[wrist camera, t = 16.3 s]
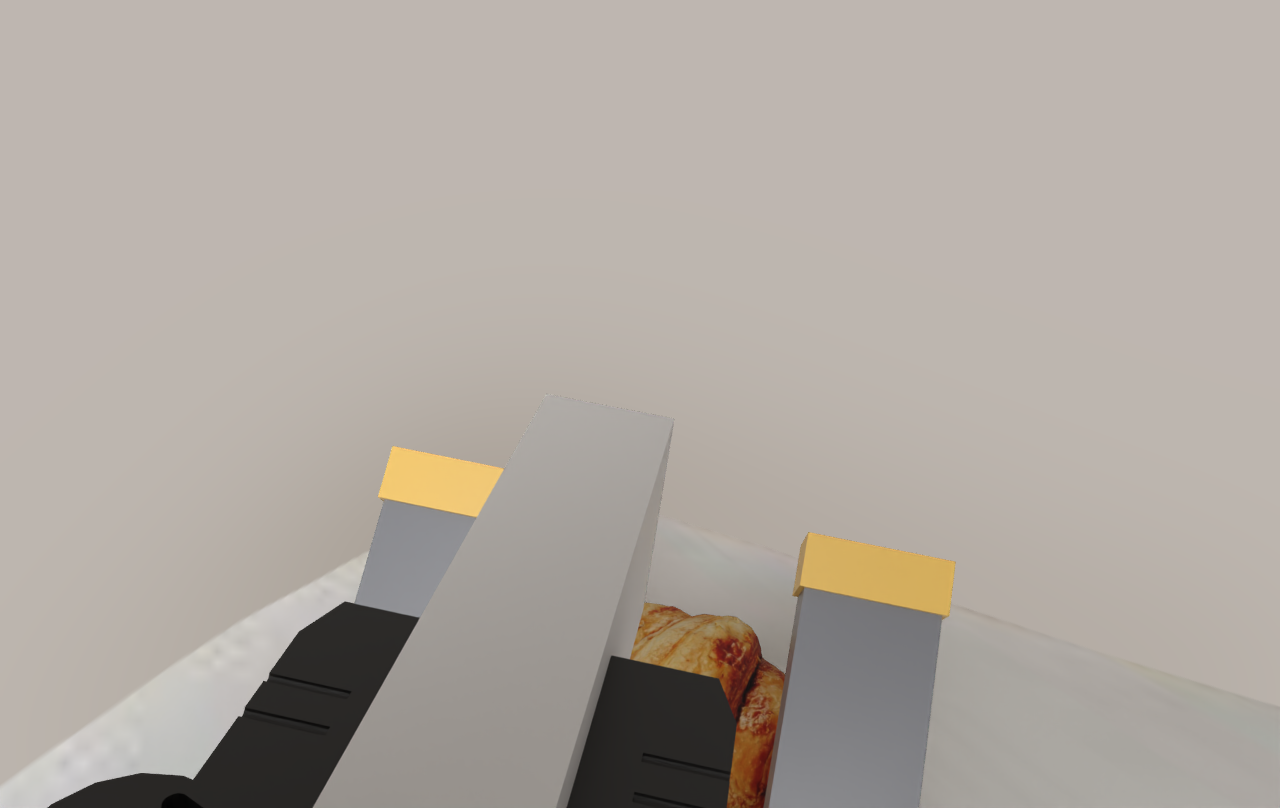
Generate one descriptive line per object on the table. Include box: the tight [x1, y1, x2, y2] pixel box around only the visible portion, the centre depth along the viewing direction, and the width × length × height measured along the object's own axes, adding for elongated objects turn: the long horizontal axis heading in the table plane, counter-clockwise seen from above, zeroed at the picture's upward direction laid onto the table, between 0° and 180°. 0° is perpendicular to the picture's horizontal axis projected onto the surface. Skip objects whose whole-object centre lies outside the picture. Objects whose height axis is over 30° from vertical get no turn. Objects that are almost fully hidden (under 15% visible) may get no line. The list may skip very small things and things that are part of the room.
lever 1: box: [354, 446, 504, 618], centre depth 39 cm, size 2×6×15 cm
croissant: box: [630, 602, 785, 808], centre depth 50 cm, size 21×10×8 cm, turn 51°
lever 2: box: [764, 532, 955, 808], centre depth 38 cm, size 2×6×15 cm
